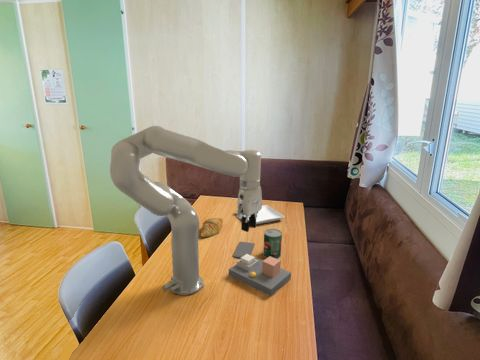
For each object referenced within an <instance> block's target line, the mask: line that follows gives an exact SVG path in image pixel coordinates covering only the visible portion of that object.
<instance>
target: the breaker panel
mask: <svg viewBox="0 0 480 360" xmlns="http://www.w3.org/2000/svg"><path fill="white" fill-rule="evenodd" d="M263 261H264V259H263V260H262V259H260V258H257V257H255V262H253V263H252V264H250V265H249V266H248V265H246V264H244V263H242V262H241V258H239V259H238V260H237V261H236V264H234V265H233V266H231V267H229V268H228V276H229V277H231V278H232V279H234V280H237V281H238V282H240V283H242V284H245V285H247V286H249V287H250V288H251V289H252V288H253V289H255V290H257V291H259V292H261V293H263V294H265V295H267V296H269V297H272V296H273V295H274V294H275V293H276V292H278V291H279V290H281V289H282V288H283V287H284V286H285V285H286V284H287V283H288V282H290V281H291V278H292V272H290V271H288V270H287V269H283V268H282V267H280V272H279V273H278V274H277V275H276V276H274V277H271V276H268V275H266V274H264V273H262V264H263Z"/></svg>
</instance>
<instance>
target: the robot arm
mask: <svg viewBox="0 0 480 360" xmlns="http://www.w3.org/2000/svg"><path fill="white" fill-rule="evenodd" d="M151 154H154V155H157V156H160V157H164V158H168V159H172V160H176V161H180V162H182V163H187V164H190V165H193V166H196V167H200V168H203V169H206V170H209V171H212V172H216V173H217V174H218V173H219V174H222V175H226V176H230V177H234V178H235V177H237V178H238V177H239V189H238V194H237V195H238V196H237V209H238V212H237V214H236V216H235V217H236V218H237V219H239V220H240V222H241V225H240V226H241V231H243V232H246V233H248V232H249V231H250V228H253V229H255V228H256V227H257V224H256V218H257V214H258V211H260V210H261V209H262V205H263V196H262V195H263V194H262V187H261V169H262V168H261V165H262V155H261V152H260V151H258V150H254V149H253V150H251V149H248V150H231V149H230V150H223V149H221V148H217V147H215V146H213V145H210V144H208V143H206V142H205V141H203V140H200V139H197V138H194V137H191V136H188V135H184V134H181V133H178V132H175V131H171V130H170V129H169V130H168V129H165V128H164V127H162V126H159V125H152V126H149V127H147V128H145V129H143V130H141V131H138V132H136V133H134V134H132V135H130V136H128V137H125V138H123V139H121V140H118V141H117V142H116V143H115V144H114V145H113V146H112V149H111V152H110V164H109V166H110V167H109V175H110V179H111V181H112V183H113V185H114V186H115V187H116V188H117V189H118V190H119V191H120V192H121V193H123V194H124V195H126V196H127V197H128V198H130V199H131V200H133V201H134V202H136V204H138V205H139V206H141V207H143V209H145V210H147V211H148V212H150V213H151V214H153V215H154V216H158V217H166V218H167V219H168V221H169V224H170V227H171V243H170V244H171V258H172V259H171V260H172V262H171V263H172V276H171V277H170V280H169V281H168V282H167V283H166V284H165V285H162V290H163V292H166V291H168V290H169V291H170V292H171V293H174V294H175V295H176V294H177V295H180V296H188V295H193V294H196V293H198V292H199V291H200V290H202V289H203V286H204V279H203V277H202V276H201V275H200V269H199V268H200V264H199V260H200V258H199V232H200V218H199V216H198V213H197V211H196V210H195V208H194V207H193V205H192V204H191V203H190V202H189V201H188V200H187V199H186V198H185V197H183V196H182V195H181V194H179V193H178V192H176V191H175V190H174V189H172V188H171V187H170V186H168V185H167V184H166V183H164V182H161V181H153V180H152V179H150V178H149V177H148V176H146V175H145V174H143V173H142V172H141V171H140V162H141V159H143V158H145V157H147V156H149V155H151ZM237 209H236V210H237ZM244 215H245V216H246V217H244ZM250 216H251V217H250ZM248 217H249V221H248Z"/></svg>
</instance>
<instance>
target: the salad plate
mask: <svg viewBox="0 0 480 360" xmlns="http://www.w3.org/2000/svg"><path fill="white" fill-rule="evenodd" d="M236 212H237V213H238V209H236ZM244 217H246V216H245V215H244ZM250 217H251V216H250ZM284 218H285V215H283V214H281V213H280V212H279V211H277V210H275V209H274V208H272V207H271V206H269V205H267V204H265V205H263V204H262V209H261V210H260V211H258V214H257V218H256V225H263V224H265V223H267V224H268V223H273V222H275V221H280V220H283V219H284ZM248 222H249V217H248Z"/></svg>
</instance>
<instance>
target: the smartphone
mask: <svg viewBox="0 0 480 360" xmlns="http://www.w3.org/2000/svg"><path fill="white" fill-rule="evenodd" d="M254 248H255V243H254V242H247V241H239V242H238V244H237V245H236V249H235V251H234V252H233V255H232V257H233V258H234V259H241V257H243V256H244V255H246V254H249V255H251V256H252V253H253V250H254Z"/></svg>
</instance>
